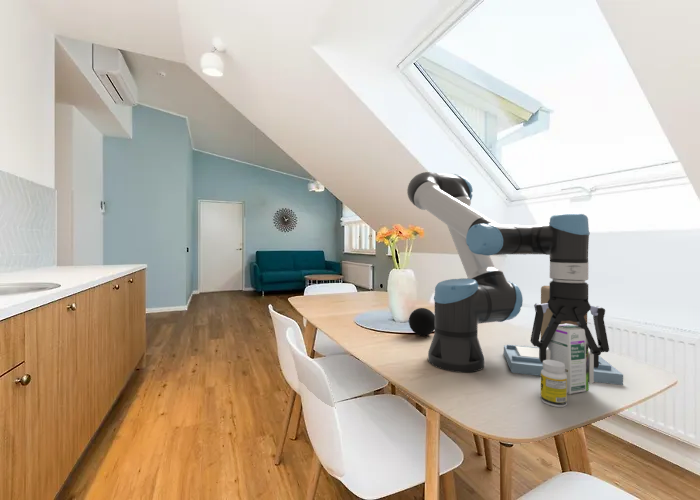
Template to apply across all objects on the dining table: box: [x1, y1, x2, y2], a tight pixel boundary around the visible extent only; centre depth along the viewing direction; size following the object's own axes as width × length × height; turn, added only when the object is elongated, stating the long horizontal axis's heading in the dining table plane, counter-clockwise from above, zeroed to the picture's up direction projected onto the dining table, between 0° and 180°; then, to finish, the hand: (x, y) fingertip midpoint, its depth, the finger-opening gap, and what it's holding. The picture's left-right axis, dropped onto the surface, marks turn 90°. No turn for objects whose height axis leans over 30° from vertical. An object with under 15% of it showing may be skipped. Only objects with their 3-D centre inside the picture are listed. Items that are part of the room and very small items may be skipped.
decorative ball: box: [408, 307, 435, 336], centre depth 121 cm, size 10×10×10 cm
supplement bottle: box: [540, 360, 568, 408], centre depth 69 cm, size 5×5×8 cm
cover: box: [515, 345, 539, 358], centre depth 90 cm, size 10×9×3 cm
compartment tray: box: [503, 343, 624, 386], centre depth 89 cm, size 24×16×4 cm, turn 71°
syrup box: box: [548, 323, 590, 395], centre depth 76 cm, size 6×6×14 cm
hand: (567, 378), depth 76 cm, fingers closed on syrup box, 8 cm apart
